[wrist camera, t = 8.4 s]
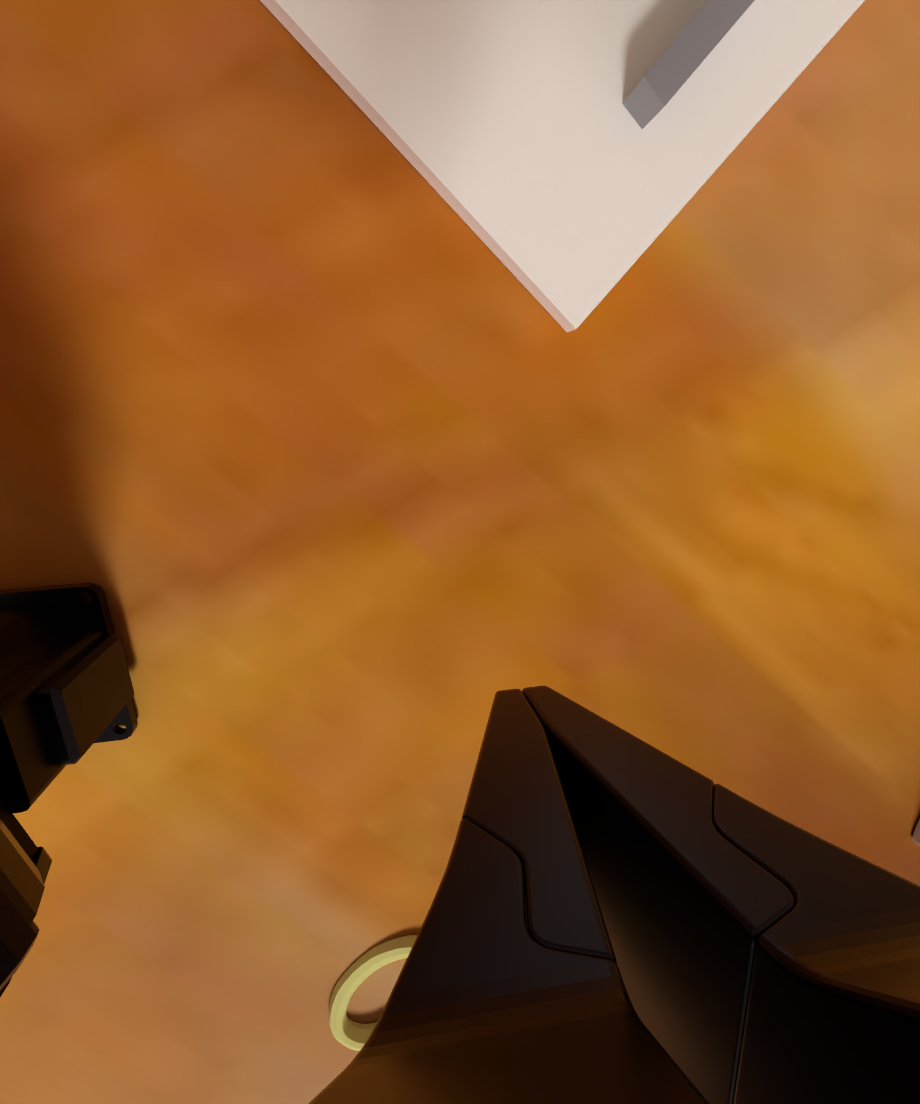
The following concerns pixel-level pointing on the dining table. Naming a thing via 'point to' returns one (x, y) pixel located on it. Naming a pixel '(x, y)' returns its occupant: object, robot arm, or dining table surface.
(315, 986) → the dining table surface
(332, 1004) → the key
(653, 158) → the white rail base plate
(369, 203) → the dining table surface
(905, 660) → the dining table surface
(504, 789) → the robot arm
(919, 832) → the coffee box
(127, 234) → the dining table surface
